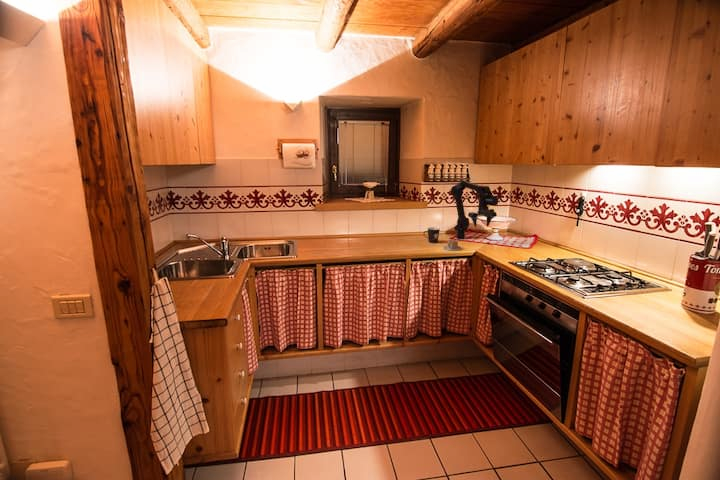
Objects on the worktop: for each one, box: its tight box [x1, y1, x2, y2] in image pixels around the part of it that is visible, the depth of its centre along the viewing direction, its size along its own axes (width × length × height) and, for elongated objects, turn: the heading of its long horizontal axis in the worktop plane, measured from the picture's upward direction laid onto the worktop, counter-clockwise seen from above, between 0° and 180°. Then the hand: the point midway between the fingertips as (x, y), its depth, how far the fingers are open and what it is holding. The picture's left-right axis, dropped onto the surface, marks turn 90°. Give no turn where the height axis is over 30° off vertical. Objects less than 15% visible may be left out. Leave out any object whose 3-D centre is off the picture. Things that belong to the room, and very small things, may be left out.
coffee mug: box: [423, 226, 441, 244], centre depth 255 cm, size 12×9×10 cm
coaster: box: [443, 245, 463, 252], centre depth 238 cm, size 12×12×1 cm
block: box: [447, 238, 459, 249], centre depth 237 cm, size 6×4×5 cm, turn 12°
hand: (481, 226), depth 248 cm, fingers open, 9 cm apart
